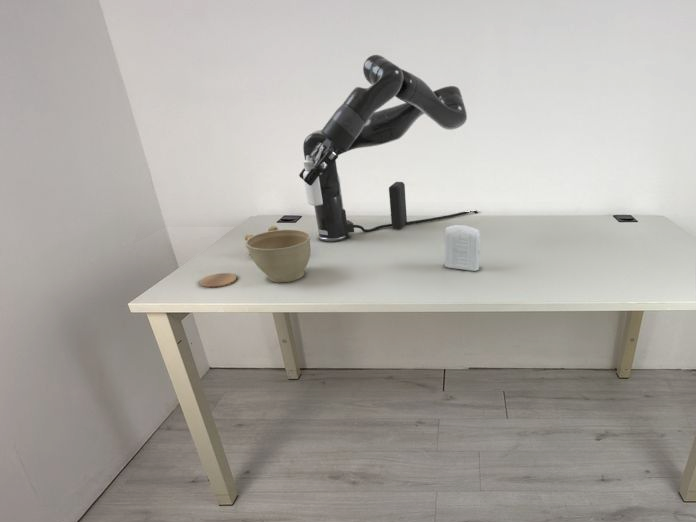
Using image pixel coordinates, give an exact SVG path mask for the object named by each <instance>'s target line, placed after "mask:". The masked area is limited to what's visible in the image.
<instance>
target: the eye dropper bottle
mask: <svg viewBox="0 0 696 522" xmlns="http://www.w3.org/2000/svg"><path fill="white" fill-rule="evenodd" d="M313 165H314V162H313V161H312V160H310V157H309V155H307V156H306V160H305V159H304V161H303V168H304V167H305V171H304V173H303V177H304V178H305V177H306V175H307V174H308V173H309V171H310V170H311V169H313V168H312V167H313ZM303 184H304V188H305V195H306V200H307V204H308V205H310V206H318V205H322V204H323V201H322V195H321V188H320V182H319V176H318V177H317V179H316V180H315V181H314V183H313V184H312V185H311V186H310V185H308V184H307V183H306V182H305V181H304V180H303Z"/></svg>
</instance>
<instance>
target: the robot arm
mask: <svg viewBox="0 0 696 522" xmlns="http://www.w3.org/2000/svg"><path fill="white" fill-rule="evenodd" d="M362 73H363V76H364V78H365V80H366V81H367V82H368V83H369V84H370V86H368V87H361V86H356V87H354V88H353V89H352V90H351V92H350V93H349V95H348V96H347V97H346V99H345V100H344V101H343V103H342V104H341V105H340V106H339V107H338V108H337V109H336V110H335V111H334V113H333V114H332V116H331V117H330V118H329V119H328V121H327V122H326V124H325V125H324V126H323V128H322V129H319V130H315V131H313V132H311V133H310V134H308V135H307V136H306V137H305V138H304V140H303V144H302V145H303V147H302V148H303V156H304V157H303V158H304V161H305V160H306V156H307V155H309V157H310V160H312V161H313V162H314V165H313V167H312V168H313V169H311V170H310V171H309V173H308V174H307V175H306V177H305V178H304V177H303V173H304V171H305V167H304V166H303V168H302V170H301V172H299V174H298V176H299V178H300V179H302V180H303V182H304V181H305V182H306V183H307V184H308V185H310V186H311V185H312V184H313V183H314V181H315V180H316V179H317V177H318V176H319V182H320V188H321V195H322V201H323V204H322V205H318V206H314V212H315V219H316V225H317V232H318V239H319V240H320V241H323V242H339V241H343V240H346V239H349V237H350V236H349V234H350V233H351V234H352V233H355V229H356V228H357V229H359V230H361V231H362V232H364V233H370V232H375V231H377V230H379V229H380V230H381V229H385V228H390V227H392V224H391V223H388V224H382V225H381V224H380V225H378V226H375V227H372V228H369V229H367V228H364V226H362V225H359V224H354V223H353V222H352V221H351V220H349V219H347V213H346V209H345V208H344V201H343V194H342V188H341V187H342V186H341V179H340V176H339V172H338V168H337V161H336V160H337V159H338V158H339V156H340V155H342V154H344V153H347V152H350V151H352V150H357V149H363V148H371V147H378V146H381V145H385V144H389V143H391V142H395V141H397V140H400V139H401V138H402V137H403V136H404V135H405V134H406V133H407V132H408V130H410V128H411V127H412V126H413V124H414V123H415V122H416V121H417V120H418V119H419V118H420V117H422V116H423V115H426V116H427V118H430V119H431V120H432V121H433V122H435V124H437V125H438V126H439V127H441V128H442V129H444V130H450V131H452V130H456V129H459V128H461V127H462V126H464V125H465V124H466V122H467V119H468V114H467V109H466V105H465V102H464V99H463V95H462V92H461V90H460V88H459V87H458V86H455V85H449V86H444V87H441V88H438V89H435V90H433V89H431V87H430V86H429V85H428V84H427V82H425V81H424V80H423V79H422V78H420V77H419V76H416V75H415V74H413V73H412V72H409V71H407V70H405V69H402V68H401V67H399V66H398V65H397V64H395V63H393V62H392V61H390V60H389V59H387V58H386V57H384V56H382V55H379V54H372V55H369V56H368V57H367V58H366V59H365V61H364V63H363V66H362ZM394 97H395V98H397V99H398V100H400V101H402V102H404V103H400V104H398V105H397V104H396V105H394V106H391V107H387V108H384V109H381V108H382V107H383V106H385V104H387V103H388V102H390V101H391V100H392V99H393V98H394ZM379 109H381V110H379ZM377 110H378V111H377ZM471 212H472V213H475V214H478V213H479V211H478V210H476V211H470V212H465V211H462V212H457V213H452V214H448V215H441V216H436V217H430V218H424V219H418V220H417V219H416V220H409V221H407V222H405V225H404V226H406V225H412V224H420V223H427V222H433V221H438V220H445V219H449V218H454V217H458V216H462V215H467V214H470V213H471ZM392 228H393V227H392Z"/></svg>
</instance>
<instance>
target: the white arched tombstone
mask: <svg viewBox="0 0 696 522" xmlns="http://www.w3.org/2000/svg"><path fill="white" fill-rule="evenodd" d="M480 252H481V232H480V230H479V229H478V228H476V227H472V226H469V225H463V224H457V225H456V224H455V225H450V226H447V227H446V228H445V232H444V253H445V254H444V263H445V264H444V265H445V267H446V268H450V269H456V270H457V269H458V270H464V271H473V272H477V271H479V269H480V255H481V253H480Z"/></svg>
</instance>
